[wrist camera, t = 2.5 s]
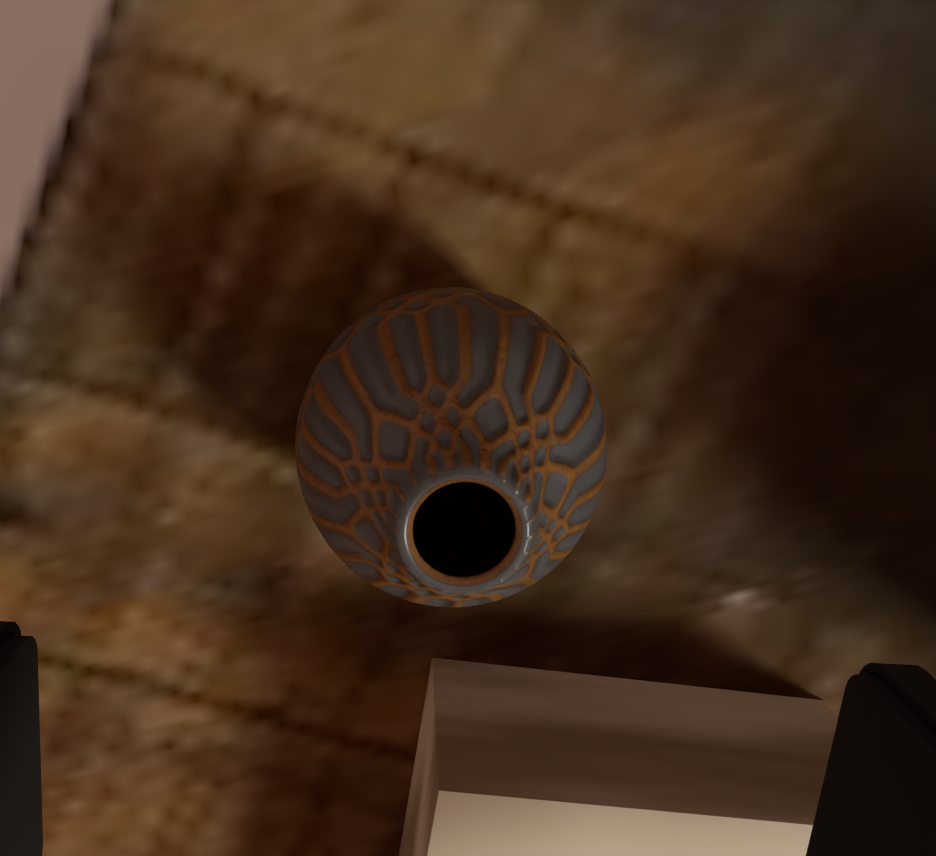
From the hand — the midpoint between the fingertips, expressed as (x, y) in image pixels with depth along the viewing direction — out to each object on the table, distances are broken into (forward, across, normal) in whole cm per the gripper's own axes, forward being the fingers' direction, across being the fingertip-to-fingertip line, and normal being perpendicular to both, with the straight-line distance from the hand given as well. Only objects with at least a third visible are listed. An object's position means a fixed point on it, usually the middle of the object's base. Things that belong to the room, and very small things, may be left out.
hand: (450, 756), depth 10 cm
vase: (+14, -1, -1) cm, 14 cm away
